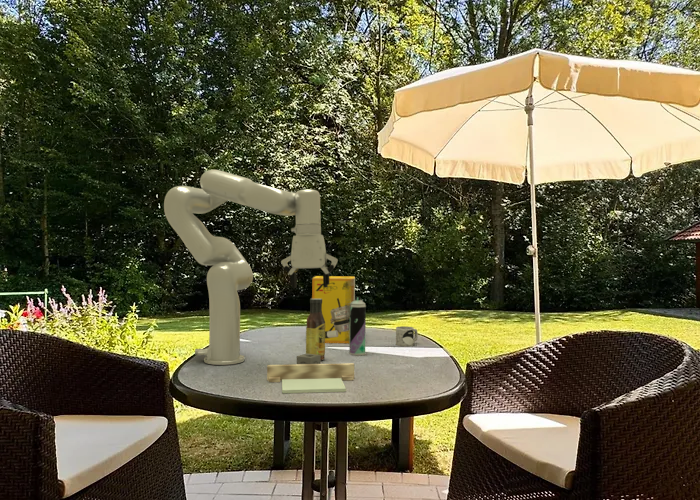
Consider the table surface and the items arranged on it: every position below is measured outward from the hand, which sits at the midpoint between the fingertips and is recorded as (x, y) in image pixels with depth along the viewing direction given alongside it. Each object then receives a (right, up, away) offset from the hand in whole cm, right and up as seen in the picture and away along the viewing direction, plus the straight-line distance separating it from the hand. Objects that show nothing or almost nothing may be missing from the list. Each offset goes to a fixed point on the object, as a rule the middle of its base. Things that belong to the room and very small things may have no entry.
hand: (310, 287), depth 161 cm
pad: (+2, -24, -22) cm, 33 cm away
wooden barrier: (+1, -24, -13) cm, 28 cm away
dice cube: (0, -25, -5) cm, 25 cm away
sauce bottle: (+1, -25, +13) cm, 28 cm away
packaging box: (+6, -25, +52) cm, 58 cm away
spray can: (+15, -25, +23) cm, 37 cm away
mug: (+34, -25, +43) cm, 60 cm away
